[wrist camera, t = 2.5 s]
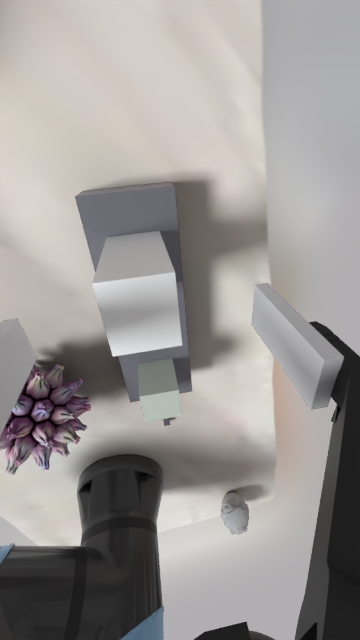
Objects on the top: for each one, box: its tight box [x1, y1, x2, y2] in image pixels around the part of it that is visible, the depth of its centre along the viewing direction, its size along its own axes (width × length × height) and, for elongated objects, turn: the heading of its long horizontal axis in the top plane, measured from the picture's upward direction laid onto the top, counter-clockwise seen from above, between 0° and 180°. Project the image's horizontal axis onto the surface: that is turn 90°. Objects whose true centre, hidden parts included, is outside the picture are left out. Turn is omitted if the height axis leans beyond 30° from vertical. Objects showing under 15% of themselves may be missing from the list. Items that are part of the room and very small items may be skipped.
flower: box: [0, 364, 91, 475], centre depth 30 cm, size 12×12×12 cm
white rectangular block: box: [92, 231, 182, 357], centre depth 21 cm, size 5×5×11 cm
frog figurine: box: [221, 492, 249, 534], centre depth 56 cm, size 6×7×7 cm
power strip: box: [75, 182, 192, 426], centre depth 32 cm, size 34×8×5 cm, turn 5°
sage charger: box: [138, 359, 182, 422], centre depth 30 cm, size 4×4×5 cm
